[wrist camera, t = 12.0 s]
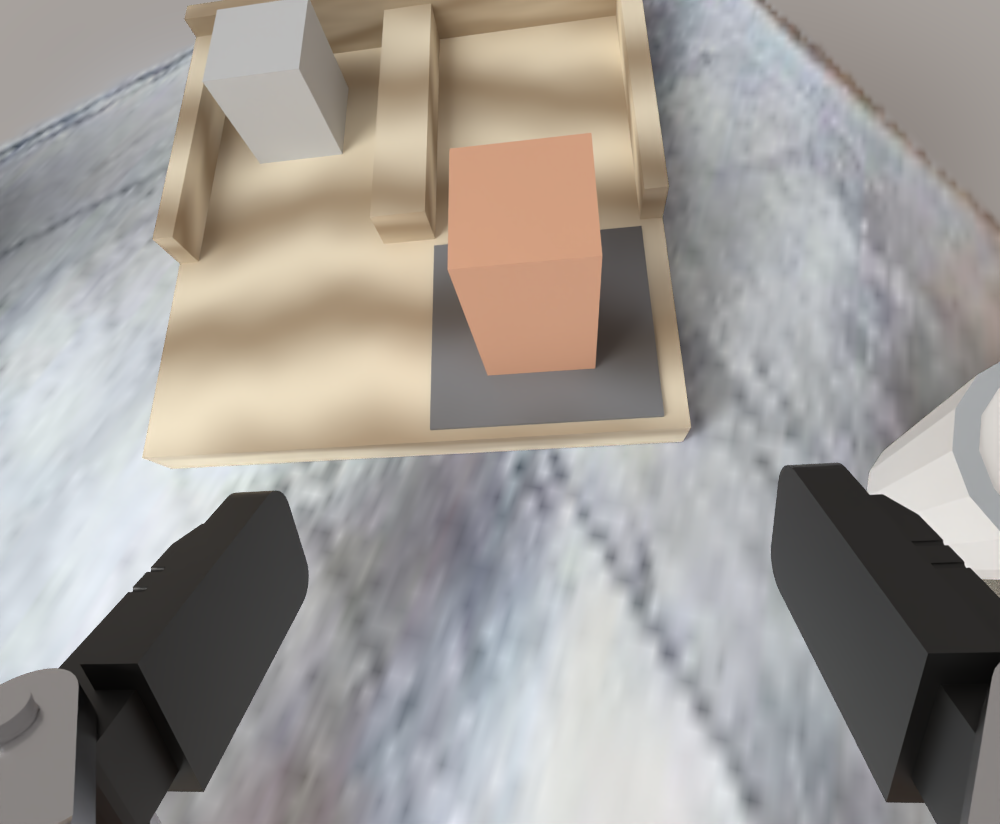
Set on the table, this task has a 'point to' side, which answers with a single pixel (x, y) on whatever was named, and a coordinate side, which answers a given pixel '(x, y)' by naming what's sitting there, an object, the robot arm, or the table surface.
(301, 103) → the grey block
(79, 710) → the robot arm
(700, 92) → the table surface
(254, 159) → the wooden divided tray
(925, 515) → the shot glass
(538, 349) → the terracotta block
